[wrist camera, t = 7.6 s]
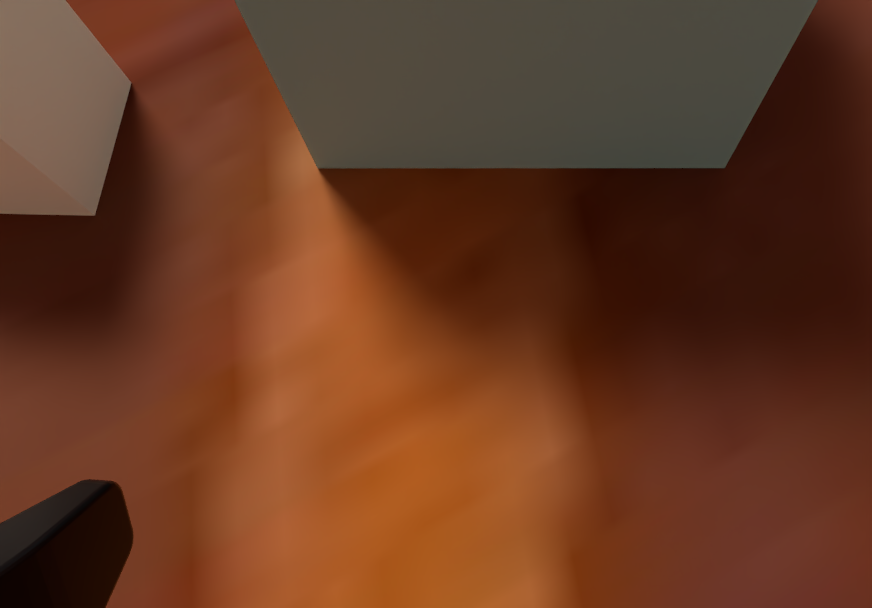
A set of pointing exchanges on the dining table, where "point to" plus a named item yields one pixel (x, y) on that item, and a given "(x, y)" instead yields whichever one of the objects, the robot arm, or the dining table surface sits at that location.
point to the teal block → (523, 79)
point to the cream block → (55, 110)
